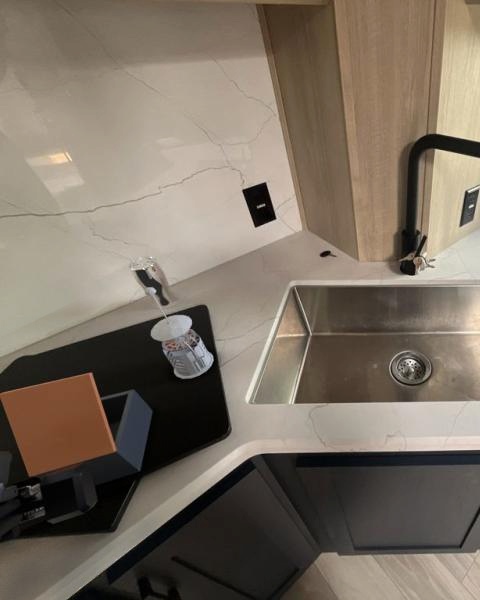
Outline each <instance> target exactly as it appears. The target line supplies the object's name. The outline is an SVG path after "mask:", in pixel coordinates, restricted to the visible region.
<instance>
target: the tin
mask: <svg viewBox="0 0 480 600" xmlns="http://www.w3.org/2000/svg"><path fill="white" fill-rule="evenodd" d="M100 400H101V403H102V406H103V409H104V412H105V415H106V418H107V422H108V425H109V428H110V431H111V434H112V437H113V440H114V443H115V447H116V451H115V452H113V453H109V454H106V455H103V456H99V457H96V458H92V459H89V460H86V461H82V462H79V463H75V464H72V465H68V466H65V467H62V468H58V469H55V470H51V471H48V472H44V473H41V474H38V475H34V476H32V477H41V478H42V479H43V478H44V477H45V476H46V475H48V474H50V473H52V472H55V471H57V470H60V469H63V468H66V467H70V466H73V465H77V464H80V463H83V462H85V463H88V464H90V466H91V471H92V475H93V480H94V485H95V487H96V486H99V485H102V484H105V483H108V482H111V481H115V480H117V479H118V480H119V479H121V478H124V477H128V476H130V475H134V474H137V473H140V472H141V470H142V466H143V460H144V456H145V450H146V445H147V441H148V435H149V431H150V426H151V421H152V417H153V412H154V411H153V410H152V408H151V407H150V406H149V405H148V404H147V403H146V402H145V400H144V399H143V398H142V397H141V396H140V395H139V393H137V391H136V390H135V389H129V390H126V391H122V392H117V393H114V394H109V395H106V396H102V397H100ZM136 469H137V470H136ZM132 470H133V471H132Z"/></svg>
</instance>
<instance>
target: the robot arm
mask: <svg viewBox="0 0 480 600" xmlns="http://www.w3.org/2000/svg"><path fill="white" fill-rule="evenodd" d="M11 462H13V454H12V453H11V452H10V451H8V450H7V451H3V450H2V451H0V544H2V543H5V542H8V541H11V540H14V539H15V538H17V537H18V536H19V535H21V529H24V528H26V527H30V526H33V525H36V524H39V523H42V522H44V521H46V522H48V523H50V524H52V525H54V524H57V523H60V522H63V521H66V520H70V519H72V518H75V517H78V516H81V515H85V514H86V513H87V512H89V511H90V510H91V509H93V507H94V506H96V504H97V502H98V496H97V491H96V486H95V485H94V480H93V475H92V471H91V466H90V464H88V463H85V462H83V463H80V464H77V465H73V466H70V467H66V468H63V469H60V470H57V471H55V472H52V473H50V474H48V475H46V476H45V477H44V478H43V479H42V478H41V477H33V476H31V477H29V478H25V479H22V480H18V481H16V482H12V485H11V486H8V487H6V486H7V485H8V483H9V476H10V468H11Z"/></svg>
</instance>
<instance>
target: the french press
mask: <svg viewBox="0 0 480 600" xmlns="http://www.w3.org/2000/svg"><path fill="white" fill-rule="evenodd" d="M155 293H156V290H155V289H154V288H153V287H148V288H147V289H146V290H145V291H144V294H145V295H146V296H149V295H152V297H153V298H154V300H155V301H156V303H157V305H158V306H159V308H160V309H159V310H160V312H161V313H162V315H163V316H164V319H161V320H159V321H158V322H157V323H156V324H155V325H154V326H153V327H152V329H151V330H150V336H151V338H152V339H153V340H155V341H157V342H161V348H162V352H163V354H164V355H165V356H166V358H167V360H168V361H169V363H170V364H171V365H172V367H173V373H174V375H175V376H176V377H177V378H180V379H182V380H185V379H193V378H196V377H198V376H201V375H202V374H204V373H206V372H207V371H208V370H209V369H210V368H211V367H212V365H213V362H214V355H213V354H212V352H209V351H208V349H207V348H206V346H205V344H204V342H203V340H202V338H201V337H200V335H199V334H198V333H197V332H196V331H195V330H194V329H191V327H192V325H193V321H192V320H193V319H192V318H190V316H188V315H184V314H174V315H170V316H166V314H165V312H164V309H161V307H160V305H159V304H158V302H157V300H156V299H155V297H154V295H153V294H155Z"/></svg>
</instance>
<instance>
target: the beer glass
mask: <svg viewBox="0 0 480 600" xmlns="http://www.w3.org/2000/svg"><path fill="white" fill-rule="evenodd" d="M127 267H128V269H129V271H130V273H131V274H132V276H133V279H134V280H135V282H136V283H137V284H138V286H139V287H140V288H141V289H142V290H143V291H144V292H145V290H146V289H147V288H148V287H153V288H154V289H155V290H156V293H155V294H153V295H154V297H155V299H156V300H157V302H158V304H159V305H160V307H161V309H162V310H166V309H168V308H171V307H172V306H173V307H174V305H175V304H176V303H177V301H178V298H177V297H176V296H175V294H174V293H173V292H172V291H171V288H170V284H169V280H168V278H167V275H166V273H165V271H164V269H163V267H162V266H161V264H160V263H159V261H158V260H157V258H156V257H154V256H143V257H142V256H141V257H139V258H136V259H134V260H132V261H131V262H129V264H128V266H127ZM148 297H149V298H150V299H151V301H152V305H153V308H154V309H157V310H160V308H159V306H158V305H157V303H156V301H155V300H154V298H153V297H152V295H148Z"/></svg>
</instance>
